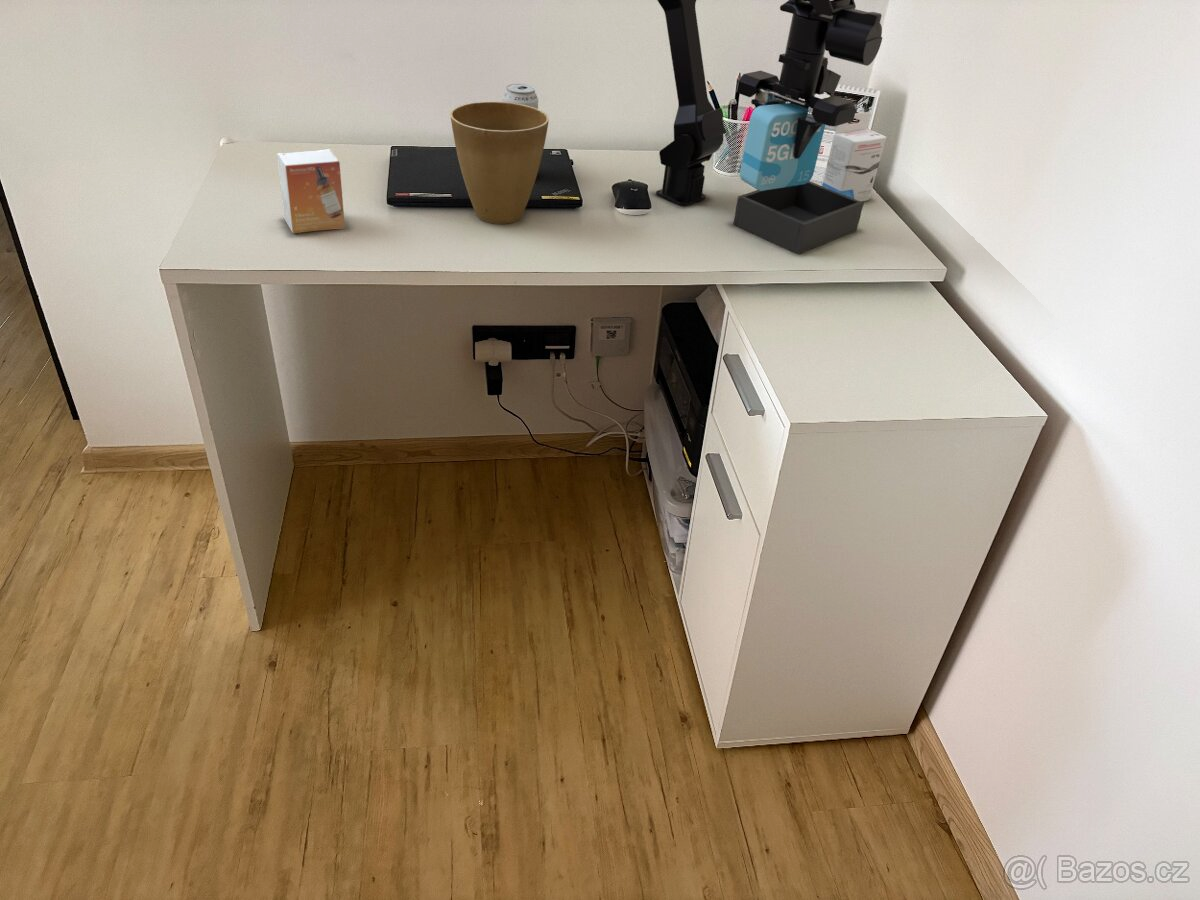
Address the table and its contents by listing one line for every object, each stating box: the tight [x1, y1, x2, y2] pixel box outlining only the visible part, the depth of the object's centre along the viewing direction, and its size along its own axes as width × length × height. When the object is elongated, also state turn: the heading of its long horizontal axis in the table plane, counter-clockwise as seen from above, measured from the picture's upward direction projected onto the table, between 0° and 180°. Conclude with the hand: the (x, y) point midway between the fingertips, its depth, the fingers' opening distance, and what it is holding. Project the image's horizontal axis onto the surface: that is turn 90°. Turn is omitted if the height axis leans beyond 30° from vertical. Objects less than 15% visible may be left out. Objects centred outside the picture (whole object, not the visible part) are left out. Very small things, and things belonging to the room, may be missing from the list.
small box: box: [276, 148, 346, 234], centre depth 137 cm, size 8×6×10 cm
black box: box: [732, 180, 865, 255], centre depth 153 cm, size 14×17×5 cm
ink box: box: [821, 111, 887, 202], centre depth 163 cm, size 8×5×15 cm, turn 123°
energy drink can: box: [502, 83, 539, 110], centre depth 159 cm, size 6×6×15 cm
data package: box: [739, 102, 826, 191], centre depth 144 cm, size 12×4×12 cm, turn 121°
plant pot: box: [449, 101, 550, 225], centre depth 144 cm, size 15×15×16 cm
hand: (783, 152), depth 145 cm, fingers closed on data package, 5 cm apart
